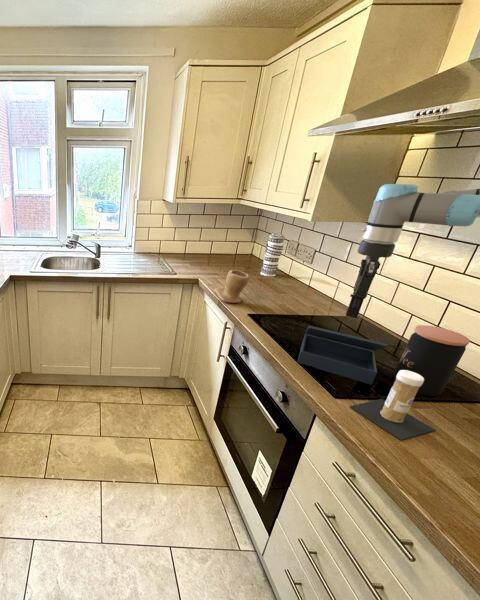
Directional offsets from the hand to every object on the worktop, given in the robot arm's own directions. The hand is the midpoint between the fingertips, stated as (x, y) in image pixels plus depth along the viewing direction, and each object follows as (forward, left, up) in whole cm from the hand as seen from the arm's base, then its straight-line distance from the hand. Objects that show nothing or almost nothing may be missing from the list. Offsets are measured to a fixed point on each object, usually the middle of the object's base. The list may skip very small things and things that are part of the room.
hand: (351, 316), depth 99 cm
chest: (+1, -1, -18) cm, 18 cm away
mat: (-23, +10, -18) cm, 31 cm away
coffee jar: (-15, -13, -18) cm, 27 cm away
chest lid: (+1, -1, -9) cm, 9 cm away
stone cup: (+59, -6, -18) cm, 62 cm away
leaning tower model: (+88, -58, -18) cm, 107 cm away
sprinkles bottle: (-23, +10, -18) cm, 31 cm away
